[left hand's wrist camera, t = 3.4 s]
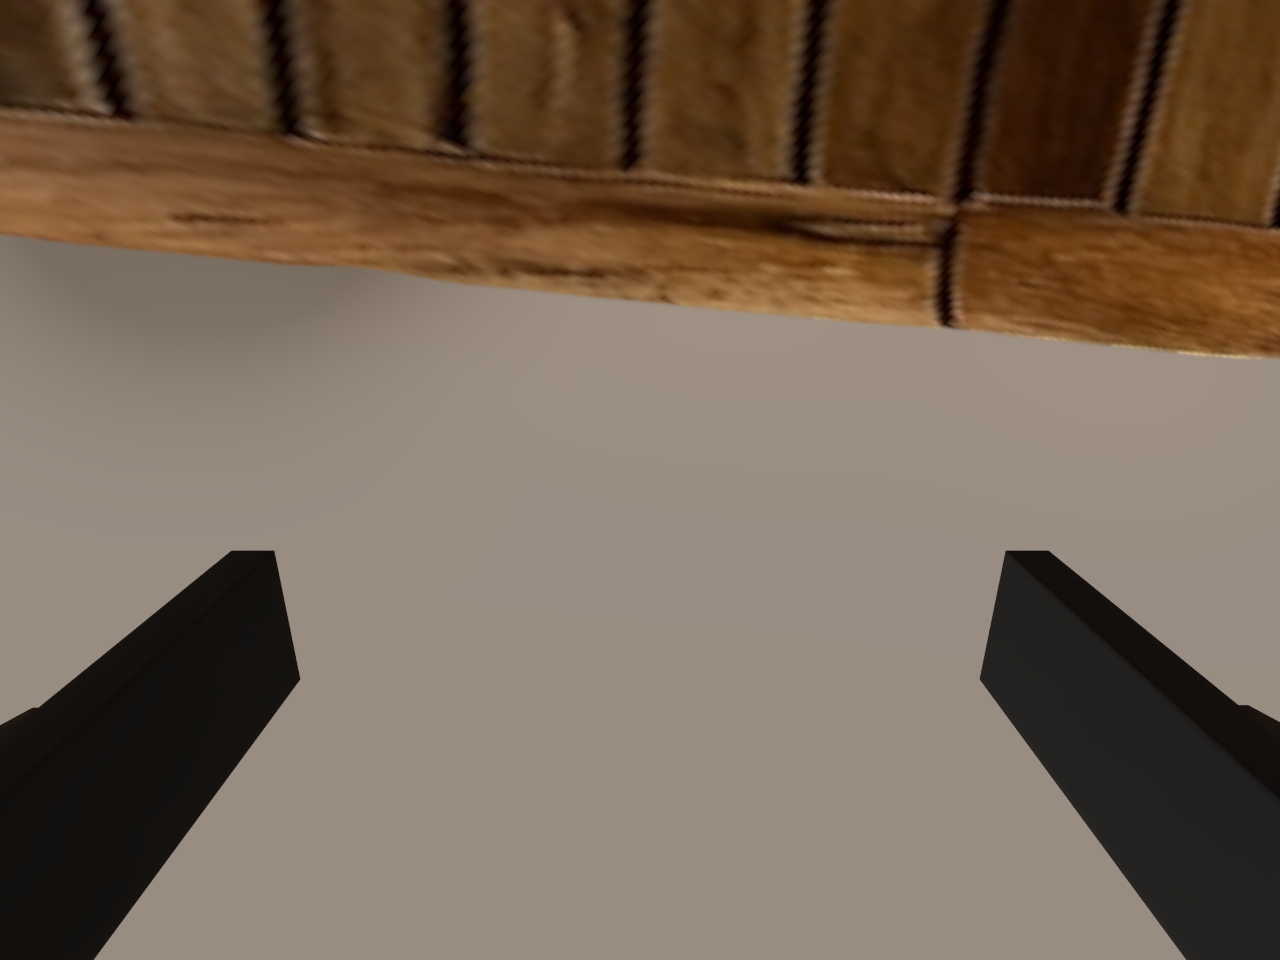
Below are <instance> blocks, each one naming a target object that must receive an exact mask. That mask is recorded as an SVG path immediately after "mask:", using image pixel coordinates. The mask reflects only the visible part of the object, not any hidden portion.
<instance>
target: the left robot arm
mask: <svg viewBox="0 0 1280 960" xmlns="http://www.w3.org/2000/svg"><path fill="white" fill-rule="evenodd" d="M299 680H300V675H299V670H298V666H297V661H296V656H295V651H294V646H293V641H292V636H291V631H290V626H289V621H288V616H287V611H286V606H285V601H284V596H283V591H282V586H281V582H280V577H279V572H278V567H277V562H276V557H275V552H274V551H231V552H229V553H228V554H227V555H226V556H224V557H223V558H222V559H221V560H219V561H218V562H217V563H216V564H215V565H213V566H212V567H211V568H210V569H208V570H207V571H206V572H205V573H204V574H202V575H201V576H200V577H199V578H197V579H196V580H195V581H194V582H192V583H191V584H190V585H189V586H188V587H186V588H185V589H184V590H183V591H181V592H180V593H179V594H178V595H176V596H175V597H174V598H173V599H172V600H170V601H169V602H168V603H167V604H165V605H164V606H163V607H162V608H160V609H159V610H158V611H157V612H156V613H154V614H153V615H152V616H151V617H149V618H148V619H147V620H146V621H145V622H143V623H142V624H141V625H140V626H138V627H137V628H136V629H135V630H133V631H132V632H131V633H130V634H129V635H127V636H126V637H125V638H124V639H122V640H121V641H120V642H119V643H117V644H116V645H115V646H114V647H113V648H111V649H110V650H109V651H108V652H106V653H105V654H104V655H103V656H102V657H100V658H99V659H98V660H97V661H95V662H94V663H93V664H92V665H90V666H89V667H88V668H87V669H86V670H84V671H83V672H82V673H81V674H79V675H78V676H77V677H76V678H74V679H73V680H72V681H71V682H70V683H68V684H67V685H66V686H65V687H63V688H62V689H61V690H60V691H58V692H57V693H56V694H55V695H54V696H52V697H51V698H50V699H49V700H47V701H46V702H45V703H44V704H42V705H41V706H40V707H39V708H31V709H29V710H28V711H26V712H24V713H22V714H20V715H18V716H16V717H15V718H13V719H11V720H9V721H7V722H5V723H4V724H2V725H0V960H94V959H95V957H96V956H97V954H98V953H99V952H100V950H101V949H102V948H103V946H104V945H105V944H106V942H107V941H108V940H109V938H110V937H111V936H112V934H113V933H114V931H115V930H116V929H117V927H118V926H119V925H120V923H121V922H122V921H123V919H124V918H125V917H126V915H127V914H128V912H129V911H130V910H131V908H132V907H133V906H134V904H135V903H136V902H137V900H138V899H139V898H140V896H141V895H142V893H143V892H144V891H145V889H146V888H147V887H148V885H149V884H150V883H151V881H152V880H153V879H154V877H155V876H156V874H157V873H158V872H159V870H160V869H161V868H162V866H163V865H164V864H165V862H166V861H167V859H168V858H169V857H170V855H171V854H172V853H173V851H174V850H175V849H176V847H177V846H178V845H179V843H180V842H181V840H182V839H183V838H184V836H185V835H186V834H187V832H188V831H189V830H190V828H191V827H192V826H193V824H194V823H195V822H196V820H197V819H198V817H199V816H200V815H201V813H202V812H203V811H204V809H205V808H206V807H207V805H208V804H209V803H210V801H211V800H212V798H213V797H214V796H215V794H216V793H217V792H218V790H219V789H220V788H221V786H222V785H223V784H224V782H225V781H226V779H227V778H228V777H229V775H230V774H231V773H232V771H233V770H234V769H235V767H236V766H237V765H238V763H239V762H240V760H241V759H242V758H243V756H244V755H245V754H246V752H247V751H248V750H249V748H250V747H251V746H252V744H253V743H254V741H255V740H256V739H257V737H258V736H259V735H260V733H261V732H262V731H263V729H264V728H265V727H266V725H267V724H268V722H269V721H270V720H271V718H272V717H273V716H274V714H275V713H276V712H277V710H278V709H279V708H280V706H281V705H282V703H283V702H284V701H285V699H286V698H287V697H288V695H289V694H290V693H291V691H292V690H293V688H294V687H295V686H296V684H297V683H298V682H299ZM980 680H981V682H982V683H983V684H984V686H985V687H986V689H987V690H988V691H989V693H990V694H991V695H992V697H993V698H994V699H995V701H996V702H997V703H998V705H999V706H1000V708H1001V709H1002V710H1003V712H1004V713H1005V714H1006V716H1007V717H1008V718H1009V720H1010V721H1011V722H1012V724H1013V725H1014V726H1015V728H1016V729H1017V731H1018V732H1019V733H1020V735H1021V736H1022V737H1023V739H1024V740H1025V741H1026V743H1027V744H1028V746H1029V747H1030V748H1031V750H1032V751H1033V752H1034V754H1035V755H1036V756H1037V758H1038V759H1039V760H1040V762H1041V763H1042V765H1043V766H1044V767H1045V769H1046V770H1047V771H1048V773H1049V774H1050V775H1051V777H1052V778H1053V779H1054V781H1055V782H1056V784H1057V785H1058V786H1059V788H1060V789H1061V790H1062V792H1063V793H1064V794H1065V796H1066V797H1067V798H1068V800H1069V801H1070V802H1071V804H1072V805H1073V807H1074V808H1075V809H1076V811H1077V812H1078V813H1079V815H1080V816H1081V817H1082V819H1083V820H1084V822H1085V823H1086V824H1087V826H1088V827H1089V828H1090V830H1091V831H1092V832H1093V834H1094V835H1095V836H1096V838H1097V839H1098V841H1099V842H1100V843H1101V844H1102V846H1103V847H1104V849H1105V850H1106V851H1107V853H1108V854H1109V855H1110V857H1111V858H1112V860H1113V861H1114V862H1115V864H1116V865H1117V866H1118V868H1119V869H1120V870H1121V872H1122V873H1123V874H1124V876H1125V877H1126V879H1127V880H1128V881H1129V883H1130V884H1131V885H1132V887H1133V888H1134V889H1135V891H1136V892H1137V893H1138V895H1139V896H1140V898H1141V899H1142V900H1143V902H1144V903H1145V904H1146V906H1147V907H1148V908H1149V910H1150V911H1151V912H1152V914H1153V915H1154V917H1155V918H1156V919H1157V921H1158V922H1159V923H1160V925H1161V926H1162V927H1163V929H1164V930H1165V931H1166V933H1167V934H1168V936H1169V937H1170V938H1171V939H1172V941H1173V942H1174V944H1175V945H1176V946H1177V948H1178V949H1179V950H1180V952H1181V953H1182V954H1183V956H1184V957H1185V958H1186V960H1280V722H1278V721H1277V720H1275V719H1273V718H1271V717H1269V716H1267V715H1265V714H1264V713H1262V712H1260V711H1258V710H1256V709H1254V708H1252V707H1250V706H1249V705H1238V704H1236V703H1235V702H1234V701H1233V700H1231V699H1230V698H1229V697H1228V696H1226V695H1225V694H1224V693H1223V692H1221V691H1220V690H1219V689H1218V688H1217V687H1215V686H1214V685H1213V684H1212V683H1210V682H1209V681H1208V680H1207V679H1206V678H1204V677H1203V676H1202V675H1201V674H1199V673H1198V672H1197V671H1196V670H1194V669H1193V668H1192V667H1191V666H1189V665H1188V664H1187V663H1186V662H1185V661H1183V660H1182V659H1181V658H1180V657H1178V656H1177V655H1176V654H1175V653H1174V652H1172V651H1171V650H1170V649H1169V648H1167V647H1166V646H1165V645H1164V644H1163V643H1161V642H1160V641H1159V640H1158V639H1156V638H1155V637H1154V636H1153V635H1151V634H1150V633H1149V632H1148V631H1147V630H1145V629H1144V628H1143V627H1142V626H1140V625H1139V624H1138V623H1137V622H1135V621H1134V620H1133V619H1132V618H1131V617H1129V616H1128V615H1127V614H1126V613H1124V612H1123V611H1122V610H1121V609H1120V608H1118V607H1117V606H1116V605H1115V604H1113V603H1112V602H1111V601H1110V600H1108V599H1107V598H1106V597H1105V596H1104V595H1102V594H1101V593H1100V592H1099V591H1097V590H1096V589H1095V588H1094V587H1092V586H1091V585H1090V584H1089V583H1087V582H1086V581H1085V580H1084V579H1083V578H1081V577H1080V576H1079V575H1078V574H1076V573H1075V572H1074V571H1073V570H1072V569H1070V568H1069V567H1068V566H1067V565H1065V564H1064V563H1063V562H1062V561H1060V560H1059V559H1058V558H1057V557H1056V556H1054V555H1053V554H1052V553H1051V552H1049V551H1006V552H1005V557H1004V562H1003V567H1002V572H1001V577H1000V582H999V587H998V591H997V596H996V601H995V606H994V611H993V616H992V621H991V626H990V631H989V636H988V641H987V646H986V651H985V656H984V661H983V665H982V670H981V675H980Z"/></svg>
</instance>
